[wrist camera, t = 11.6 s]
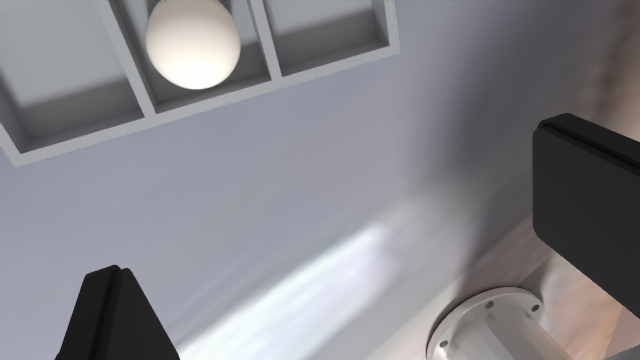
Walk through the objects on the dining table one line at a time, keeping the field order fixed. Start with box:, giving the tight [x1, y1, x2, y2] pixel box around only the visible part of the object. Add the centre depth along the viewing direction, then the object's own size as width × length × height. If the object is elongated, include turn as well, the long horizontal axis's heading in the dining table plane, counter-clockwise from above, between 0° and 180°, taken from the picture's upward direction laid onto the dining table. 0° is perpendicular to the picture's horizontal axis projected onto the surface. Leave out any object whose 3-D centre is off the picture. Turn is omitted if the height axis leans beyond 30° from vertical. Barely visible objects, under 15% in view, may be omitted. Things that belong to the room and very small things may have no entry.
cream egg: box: [145, 0, 241, 89], centre depth 22 cm, size 4×4×6 cm
